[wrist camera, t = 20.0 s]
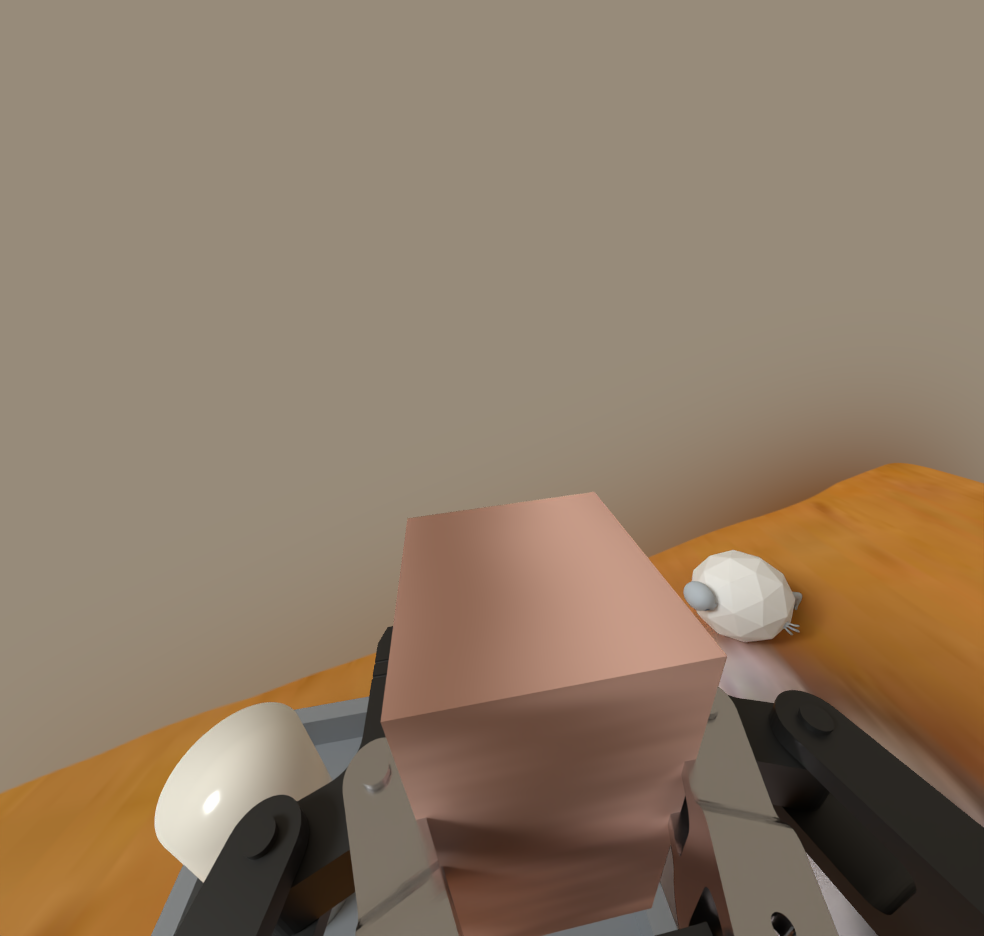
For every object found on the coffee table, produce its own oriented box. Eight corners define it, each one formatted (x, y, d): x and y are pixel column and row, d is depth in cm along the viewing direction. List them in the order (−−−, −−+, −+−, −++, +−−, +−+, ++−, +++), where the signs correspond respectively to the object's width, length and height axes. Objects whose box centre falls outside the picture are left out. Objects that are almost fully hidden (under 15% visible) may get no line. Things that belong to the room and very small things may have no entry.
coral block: (583, 714, 14) (594, 491, 10) (651, 908, 10) (727, 655, 5) (455, 739, 14) (407, 518, 9) (465, 954, 9) (380, 722, 5)
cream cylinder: (368, 799, 21) (317, 693, 17) (348, 934, 17) (273, 836, 12) (280, 817, 21) (205, 713, 16) (236, 959, 16) (117, 868, 12)
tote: (576, 691, 27) (577, 659, 25) (694, 1038, 14) (710, 1017, 13) (269, 747, 25) (250, 717, 24) (97, 1196, 13) (33, 1194, 11)
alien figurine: (732, 595, 36) (639, 597, 32) (768, 535, 34) (673, 528, 29) (810, 659, 30) (708, 673, 25) (862, 591, 27) (759, 593, 23)
